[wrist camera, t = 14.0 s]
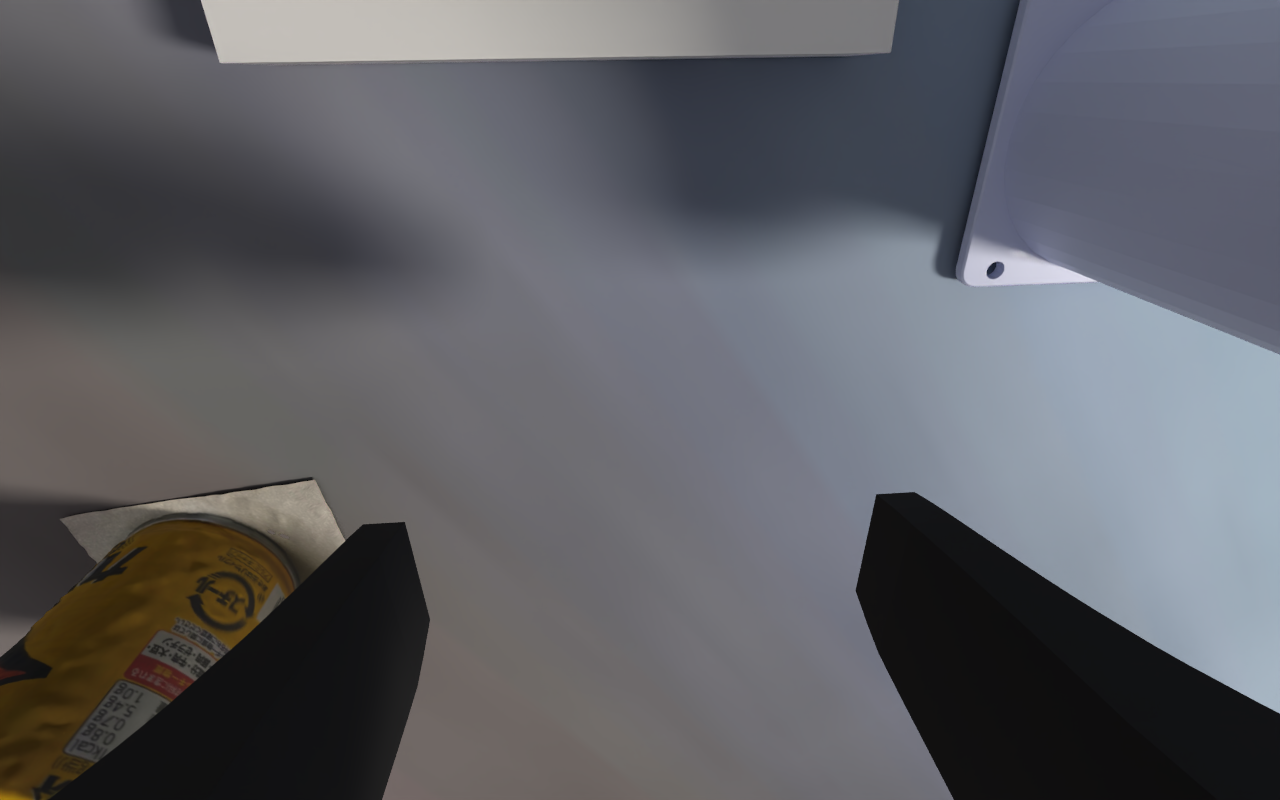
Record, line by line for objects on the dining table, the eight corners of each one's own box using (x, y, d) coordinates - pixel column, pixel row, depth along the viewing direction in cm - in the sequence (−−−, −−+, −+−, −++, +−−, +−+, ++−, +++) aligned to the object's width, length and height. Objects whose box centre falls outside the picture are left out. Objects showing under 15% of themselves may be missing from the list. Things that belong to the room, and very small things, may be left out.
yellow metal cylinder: (64, 514, 20) (-530, 1009, 9) (317, 476, 20) (9, 927, 9) (175, 659, 23) (-166, 1138, 13) (389, 626, 23) (225, 1077, 13)
